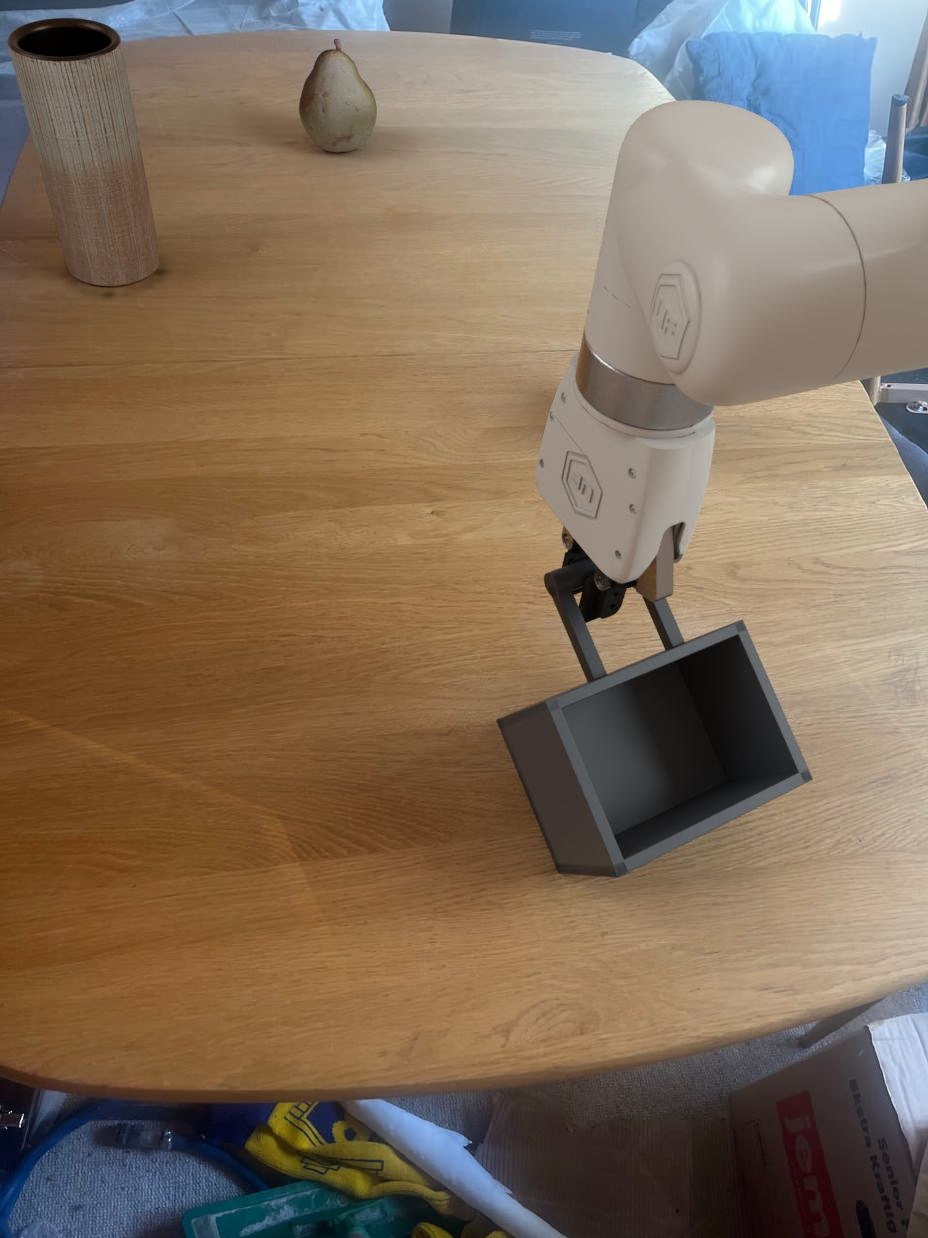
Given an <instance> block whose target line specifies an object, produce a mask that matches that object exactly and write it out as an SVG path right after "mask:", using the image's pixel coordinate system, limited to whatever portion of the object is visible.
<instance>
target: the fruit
mask: <svg viewBox="0 0 928 1238" xmlns="http://www.w3.org/2000/svg"><path fill="white" fill-rule="evenodd" d="M333 44H334V45H335V48H332V49H330V48H329V49H325V50H323V51H322V52H320V53H319V55H318V56H317V57H316V59H315V61H314V65H313V68H312V69H311V72H310V73H309V75H308V76H307V77H306V79H305V81H304V83H303V86H302V90H301V94H300V98H299V103H298V113H299V119H300V122H301V124H302V127H303V129H304V131H305V132H306V133H307V135H308V136H309V137H310V138H311V139H312V141H313V143H314V144H315V145H316V146H318V147H319V148H320V149H321V150H324V151H327V152H329V153H342V152H345V153H346V152H351V151H356V150H358V149H360V148H362V147H364V145H365V144H366V143H367V141H368V140H369V138H370V137H371V135H372V133H373V131H374V129H375V126H376V122H377V116H378V106H377V102H376V101H377V100H376V98H375V96H374V92H373V91H372V89H371V88H370V86H369V85H368V84H367V82H365V80H364V79H363V78H362V77H361V75H360V73H359V70H358V67H357V65H356V63H355V61H354V60H353V59H352V58H351V56H349V55H348V54H347V53H345V52H344V51H343V50H342V47H341V46H342V45H341V39H339V38H335V39H334V40H333Z"/></svg>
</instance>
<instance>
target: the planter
mask: <svg viewBox="0 0 928 1238" xmlns="http://www.w3.org/2000/svg"><path fill="white" fill-rule="evenodd" d="M6 43H7V48H8V51H9V56H10V60H11V63H12V66H13V70H14V75H15V77H16V82H17V85H18V89H19V93H20V96H21V100H22V104H23V107H24V111H25V115H26V120H27V123H28V127H29V130H30V134H31V139H32V142H33V146H34V150H35V153H36V158H37V161H38V165H39V168H40V172H41V176H42V179H43V183H44V188H45V191H46V195H47V198H48V202H49V206H50V210H51V213H52V218H53V221H54V224H55V229H56V231H57V236H58V240H59V243H60V248H61V251H62V256H63V259H64V262H65V265H66V267H67V270H68V272H69V273H70V275H72V276H73V277H74V278H75V279H77V280H79V281H81V282H84V283H86V284H89V285H94V286H99V287H121V286H126V285H131V284H134V283H137V282H140V281H143V280H144V279H146V278H148V277H149V276H151V275H152V274H153V273H155V271H157V269H158V268H159V266H160V264H161V254H160V246H159V241H158V235H157V230H156V224H155V218H154V214H153V213H154V212H153V208H152V207H153V206H152V203H151V197H150V196H151V195H150V192H149V186H148V181H147V175H146V169H145V164H144V159H143V152H142V148H141V142H140V137H139V131H138V126H137V120H136V115H135V110H134V103H133V99H132V93H131V87H130V82H129V81H130V80H129V76H128V71H127V65H126V60H125V55H124V48H123V44H122V39H121V36H120V34H119V33H118V32H117V31H116V29H114V28H113V27H111V26H109V25H107V24H105V23H102V22H100V21H96V20H92V19H85V18H77V17H55V18H46V19H45V18H44V19H40V20H35V21H32V22H28V23H25V24H23V25H21V26H18V27H17V28H15V29H14V30H13V31H12V32H10V34H9V35H8V37H7V42H6Z"/></svg>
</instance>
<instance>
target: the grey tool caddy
mask: <svg viewBox="0 0 928 1238" xmlns="http://www.w3.org/2000/svg"><path fill="white" fill-rule="evenodd" d="M595 569H596V564H595V563H594V562H593V561H592V560H591V559H590V557H589V558H587V559H584V560H581V561H578V562H576V563H573V564H570V565H567V566H564V567H562V566H561V567H559V568H556V569H553V570H551V571H548V572H545V574H544V576H543V584H544V587H545V590H546V591H547V593H548V594H549V595H550V597H551V598H552V601H553V603H554V605H555V608H556V610H557V613H558V614H559V617H560V620H561V623H562V625H563V627H564V629H565V631H566V632H565V633H566V634H567V636H568V639H569V642H570V644H571V646H572V649H573V651H574V653H575V655H576V658H577V660H578V663H579V665H580V667H581V670H582V673H583V675H584V677H585V680H586V681H585V682H584V683H581V684H579V685H577V686H574V687H571V688H569V689H566V690H564V691H561V692H559V693H557V694H554V695H553V696H550V697H547V698H544V699H542V700H540V701H536V702H535V703H533V704H531V705H528V706H525V707H523V708H520V709H519V710H516V711H513V712H510V713H508V714H506V715H504V716H501V717H499V718H496V723H497V726H498V729H499V730H500V733H501V736H502V738H503V741H504V743H505V746H506V748H507V751H508V753H509V755H510V758H511V760H512V763H513V765H514V768H515V770H516V773H517V775H518V778H519V780H520V783H521V784H522V785H521V786H522V787H523V790H524V793H525V795H526V797H527V800H528V802H529V805H530V807H531V810H532V812H533V814H534V817H535V819H536V821H537V824H538V827H539V829H540V831H541V834H542V837H543V838H544V841H545V843H546V846H547V849H548V851H549V853H550V855H551V858H552V861H553V863H554V866H555V868H556V871H557V873H558V874H559V875H572V876H573V875H574V876H588V877H598V878H599V877H601V878H602V877H603V878H616V879H620V878H621V877H623V876H625V875H627V874H629V873H631V872H633V871H635V870H638V869H639V868H641V867H644V866H645V865H647V864H649V863H651V862H653V861H654V860H655V861H656V860H657V859H659V858H661V857H663V856H665V855H667V854H668V853H670V852H672V851H675V850H677V849H678V848H680V847H683V846H684V845H687V844H688V843H691V842H692V841H695V840H697V839H698V838H700V837H702V836H704V835H706V834H708V833H710V832H712V831H714V830H716V829H718V828H720V827H723V826H724V825H725V824H728V823H729V822H732V821H734V820H736V819H738V818H740V817H741V816H743V815H746V814H748V813H750V812H753V810H756V809H757V808H759V807H761V806H763V805H765V804H767V803H770V802H771V801H774V800H776V799H777V798H779V797H781V796H783V795H785V794H787V793H790V792H792V791H793V790H795V789H797V788H799V787H801V786H804V785H805V784H807V783H809V782H811V781H813V780H814V779H813V776H812V774H811V771H810V769H809V767H808V765H807V762H806V759H805V757H804V756H803V753H802V750H801V748H800V746H799V744H798V742H797V740H796V737H795V735H794V733H793V730H792V728H791V725H790V723H789V722H788V718H787V717H786V713H785V712H784V710H783V708H782V705H781V703H780V701H779V699H778V697H777V694H776V691H775V688H774V687H773V685H772V682H771V680H770V677H769V676H768V674H767V671H766V669H765V667H764V665H763V661H762V660H761V658H760V656H759V653H758V651H757V649H756V646H755V644H754V642H753V639H752V637H751V635H750V632H749V631H748V628H747V626H746V624H745V622H744V619H740V620H737V621H735V622H731V623H729V624H727V625H724V626H722V627H719V628H717V629H714V630H712V631H709V632H707V633H704V634H701V635H699V636H696V637H694V638H691V639H689V640H685V639H684V636H683V635H682V632H681V630H680V628H679V625H678V623H677V621H676V618H675V616H674V614H673V611H672V609H671V607H670V605H669V602H668V600H667V598H664V599H661V600H659V601H656V602H651V601H650V600H648V599H646V598H645V597H643V596H642V595H641V598H642V599H643V601H644V604H645V607H646V609H647V611H648V613H649V616H650V618H651V621H652V623H653V625H654V627H655V629H656V632H657V635H658V637H659V639H660V642H661V644H662V646H663V649H664V650H661V651H659V652H657V653H654V654H651V655H648V656H646V657H644V658H642V659H639V660H637V661H634V662H632V663H630V664H627V665H625V666H622V667H620V668H617V669H615V670H613V671H610V672H607V671H606V669H605V665H604V663H603V662H602V661H603V660H602V658H601V656H600V653H599V652H598V650H597V647H596V645H595V643H594V640H593V637H592V635H591V633H590V630H589V628H588V626H587V623H585V621H584V618H583V616H582V614H581V611H580V609H579V607H578V606H579V603H578V602H577V599H576V597H575V595H573V592H572V591H573V590H575V589H578V588H581V587H584V583H585V580H586V578H588V577H589V576H592V575H594V573H595Z"/></svg>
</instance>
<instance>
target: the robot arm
mask: <svg viewBox="0 0 928 1238" xmlns="http://www.w3.org/2000/svg"><path fill="white" fill-rule="evenodd" d="M794 170H795V158H794V153H793V150H792V147H791V143H790V142H789V140H788V138H787V137H786V136H785V134H784V133H783V132H782V131H781V130H780V129H779V128H778V127H777V126H776V125H775V124H774V123H772V122H771V121H770V120H768V119H766V118H765V117H763V116H761V115H759V114H757V113H755V112H753V111H751V110H748V109H745V108H742V107H740V106H737V105H734V104H728V103H724V102H718V101H712V100H701V99H683V100H674V101H668V102H664V103H661V104H659V105H658V104H657V105H655V106H654V107H651V108H649V109H648V110H646V111H644V112H643V113H641V114H640V115H639V116H638V117H637V118H636V119H635V120H634V121H633V122H632V124H631V125H630V126H629V128H628V130H627V131H626V133H625V135H624V138H623V140H622V142H621V146H620V149H619V152H618V155H617V160H616V164H615V170H614V175H613V181H612V186H611V189H610V190H611V191H610V196H609V200H608V201H609V202H608V206H607V212H606V216H605V222H604V227H603V232H602V237H601V241H600V247H599V252H598V256H597V257H598V259H597V263H596V268H595V273H594V277H593V282H592V287H591V288H592V289H591V293H590V297H589V304H588V308H587V312H586V317H585V318H586V319H585V324H584V327H583V332H582V337H581V343H580V348H579V352H577V353H576V354H574V355H573V356H572V357H571V360H570V362H569V363H568V365H567V366H566V369H565V371H564V373H563V375H562V377H561V380H560V382H559V384H558V386H557V388H556V392H555V394H554V397H553V401H552V403H551V405H550V409H549V413H548V416H547V419H546V423H545V427H544V430H543V435H542V439H541V443H540V448H539V453H538V457H537V462H536V468H535V477H534V479H535V480H534V481H535V486H536V489H537V491H538V493H539V495H540V497H541V499H542V500H543V501H544V503H545V504H546V506H548V508H549V510H551V512H552V513H553V515H554V516H555V517H556V519H558V520H559V522H560V523H561V524H562V525H563V527H562V530H561V542H562V544H563V546H564V548H565V549H566V550H567V551H565V552H564V555H563V559H562V564H561V568H562V567H564V566H567V565H570V564H573V563H576V562H578V561H581V560H584V559H587V558H589V557H590V559H591V560H592V561H593V562H594V563H595V564H596V569H595V573H594V575H592V576H589V577H588V578H586V580H585V583H584V587H581V588H578V589H575V590H573V591H572V592H573V595H574V596H575V595H578V594H581V595H580V597H579V603H578V607H579V609H580V611H581V614H582V616H583V618H584V621H585V623H586V624H587V623H589V622H593V621H596V620H598V619H601V620H605V619H607V618H610V617H612V616H614V615H615V614H617V613H618V612H619V611H620V609H621V608H622V605H623V603H624V599H625V596H626V593H627V590H628V589H632V588H633V589H635V592H636V593H637V594H639V595H641V597H642V596H643V597H645V598H646V599H648V600H650V601H651V602H656V601H659V600H661V599H664V598H666V599H667V598H669V597H671V596H673V594H674V570H675V569H674V566H675V564H678V563H680V562H681V560H682V559H683V557H684V556H685V554H686V551H687V549H688V547H689V545H690V543H691V540H692V537H693V535H694V532H695V529H696V526H697V523H698V520H699V517H700V513H701V510H702V506H703V503H704V500H705V495H706V491H707V486H708V482H709V477H710V472H711V468H712V467H711V466H712V461H713V454H714V447H715V439H716V429H717V424H716V421H715V420H714V418H713V415H714V412H715V410H716V407H725V408H726V407H727V408H728V407H736V406H744V405H748V404H753V403H759V402H764V401H768V400H773V399H778V398H783V397H788V396H792V395H797V394H802V393H806V392H811V391H816V390H819V389H821V388H826V387H831V386H835V385H840V384H841V385H842V384H846V383H851V382H857V381H863V380H869V379H872V378H878V377H884V376H889V375H893V374H899V373H907V372H913V371H917V370H918V371H919V370H923V369H928V177H926V178H919V179H914V180H907V181H900V182H899V181H898V182H892V183H880V184H879V183H878V184H870V185H863V186H856V187H849V188H843V189H835V190H828V191H821V192H813V193H807V194H799V195H795V194H794V195H793V194H790V192H791V187H792V183H793V178H794V172H795V171H794ZM643 597H642V598H643Z"/></svg>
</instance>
